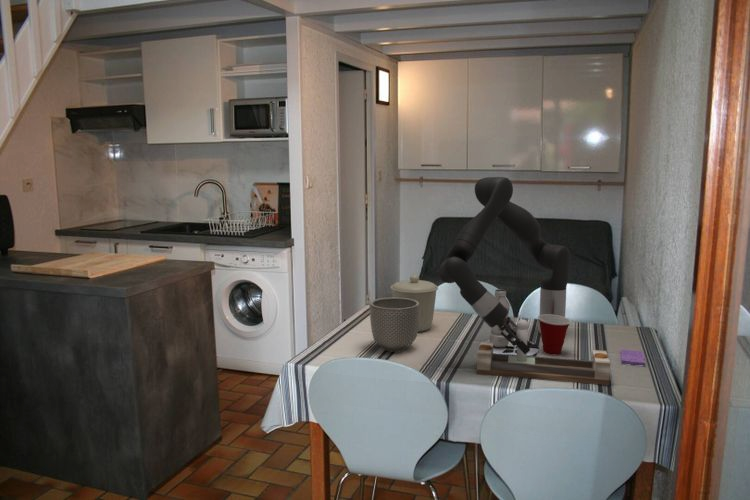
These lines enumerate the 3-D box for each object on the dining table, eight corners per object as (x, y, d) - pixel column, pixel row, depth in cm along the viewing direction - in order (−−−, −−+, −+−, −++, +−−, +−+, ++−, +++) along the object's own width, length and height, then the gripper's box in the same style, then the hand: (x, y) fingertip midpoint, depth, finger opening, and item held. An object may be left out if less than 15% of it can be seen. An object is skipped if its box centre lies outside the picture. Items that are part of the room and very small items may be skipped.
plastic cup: (564, 359, 200) (566, 323, 198) (532, 354, 206) (533, 319, 204) (573, 350, 209) (575, 316, 208) (542, 345, 215) (543, 312, 213)
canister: (445, 326, 239) (446, 273, 236) (423, 338, 224) (424, 281, 221) (405, 320, 249) (405, 268, 246) (381, 330, 234) (381, 276, 231)
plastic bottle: (509, 350, 210) (510, 292, 207) (489, 348, 212) (490, 292, 209) (508, 344, 217) (510, 288, 213) (489, 343, 218) (490, 288, 215)
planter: (382, 338, 225) (382, 295, 222) (427, 344, 217) (427, 300, 215) (361, 351, 209) (360, 305, 207) (407, 358, 202) (408, 311, 199)
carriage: (508, 361, 194) (509, 316, 192) (534, 363, 192) (536, 317, 190) (507, 367, 188) (509, 321, 186) (534, 370, 186) (536, 323, 184)
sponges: (621, 365, 196) (621, 359, 196) (620, 353, 208) (620, 348, 207) (645, 368, 194) (645, 362, 193) (642, 356, 205) (643, 350, 205)
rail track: (480, 361, 199) (480, 340, 198) (604, 371, 190) (606, 349, 189) (476, 373, 188) (477, 351, 187) (609, 385, 178) (610, 361, 177)
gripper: (496, 306, 182) (537, 348, 181) (499, 295, 195) (537, 334, 194) (478, 322, 184) (518, 364, 183) (482, 310, 198) (519, 349, 196)
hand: (527, 348), depth 189 cm, fingers open, 5 cm apart
